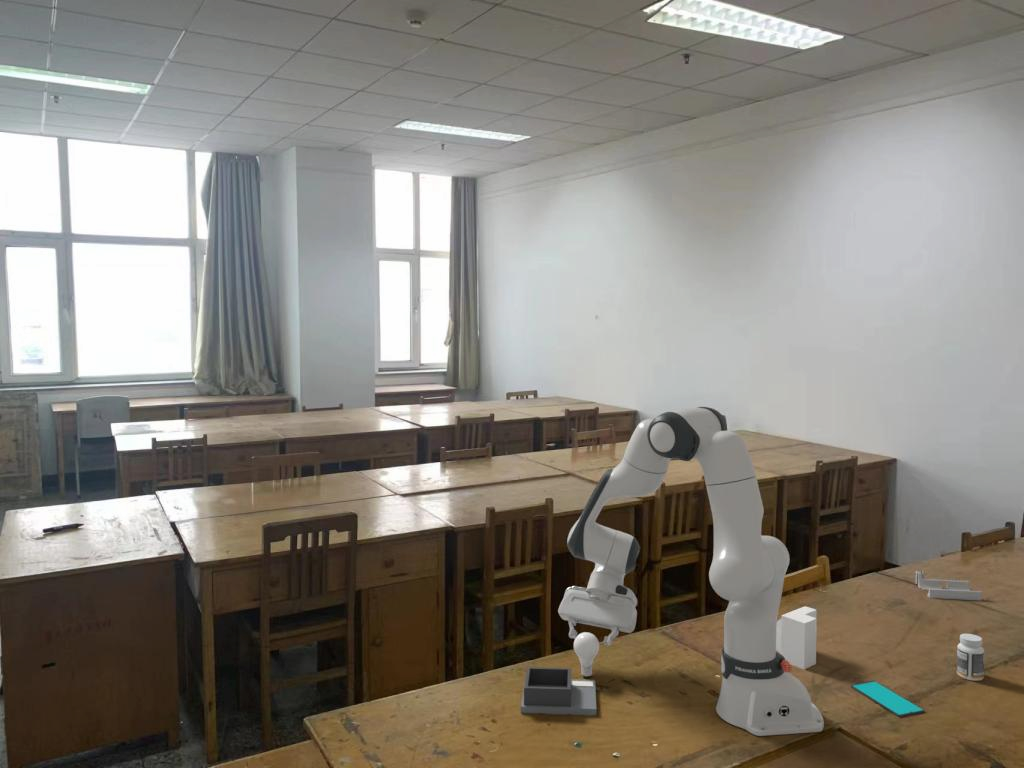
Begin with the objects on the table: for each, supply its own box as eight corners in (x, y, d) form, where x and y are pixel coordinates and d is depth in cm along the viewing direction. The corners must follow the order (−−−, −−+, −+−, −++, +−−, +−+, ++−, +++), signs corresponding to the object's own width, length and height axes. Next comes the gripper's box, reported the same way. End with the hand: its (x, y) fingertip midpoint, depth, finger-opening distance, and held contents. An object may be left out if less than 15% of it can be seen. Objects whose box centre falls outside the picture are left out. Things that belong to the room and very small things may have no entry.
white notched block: (804, 669, 187) (804, 623, 186) (765, 654, 196) (765, 610, 196) (827, 658, 193) (828, 613, 193) (788, 644, 203) (789, 601, 202)
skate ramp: (929, 599, 236) (930, 583, 236) (915, 585, 249) (915, 570, 249) (981, 601, 233) (982, 585, 233) (964, 587, 246) (964, 572, 246)
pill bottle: (981, 673, 184) (983, 634, 183) (985, 683, 179) (986, 643, 178) (955, 669, 186) (956, 630, 186) (958, 679, 181) (959, 639, 180)
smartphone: (874, 680, 180) (925, 710, 166) (874, 683, 180) (925, 714, 166) (849, 684, 178) (898, 715, 164) (849, 688, 178) (898, 719, 164)
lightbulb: (598, 683, 181) (598, 639, 180) (572, 681, 182) (572, 637, 182) (600, 671, 187) (600, 629, 187) (575, 669, 189) (575, 627, 188)
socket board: (595, 685, 180) (594, 663, 179) (596, 715, 166) (596, 691, 165) (525, 683, 181) (524, 661, 181) (520, 712, 167) (520, 689, 167)
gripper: (564, 578, 197) (547, 627, 189) (637, 591, 187) (623, 643, 179) (571, 590, 201) (555, 638, 193) (643, 603, 191) (630, 654, 183)
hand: (589, 641), depth 186 cm, fingers open, 8 cm apart
